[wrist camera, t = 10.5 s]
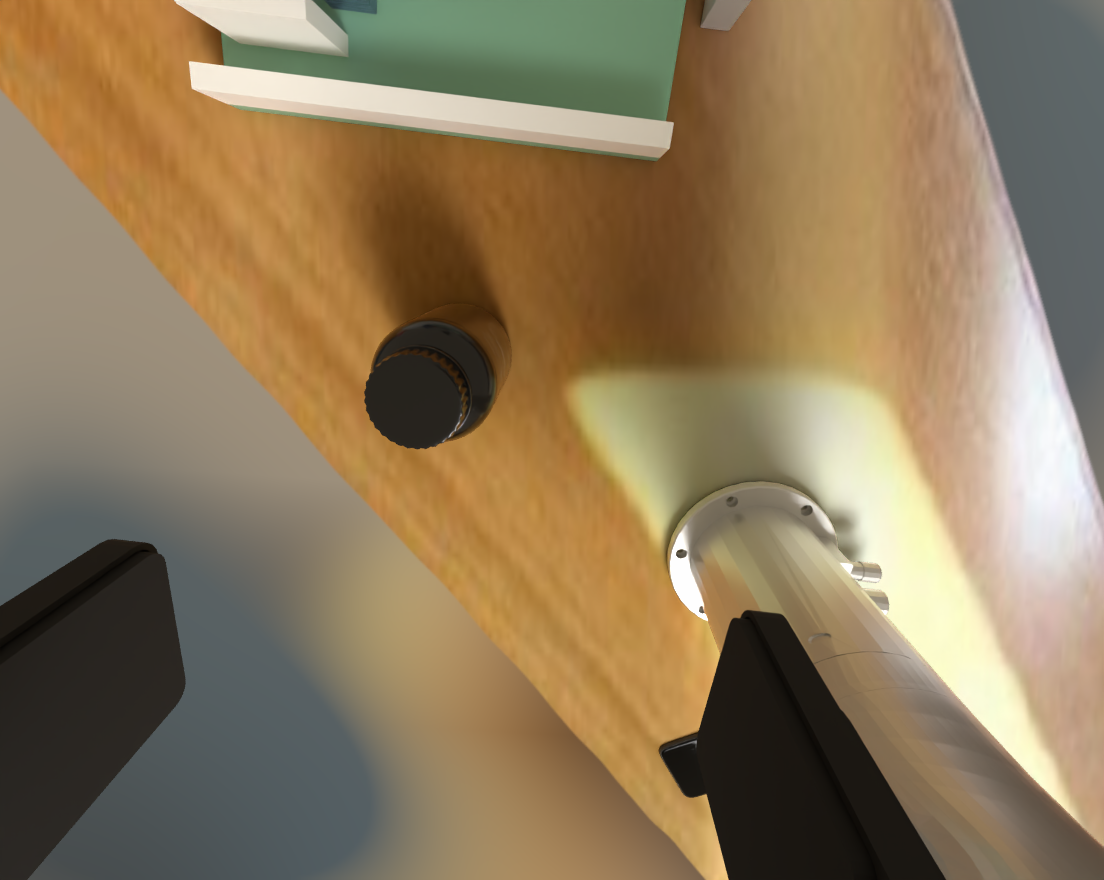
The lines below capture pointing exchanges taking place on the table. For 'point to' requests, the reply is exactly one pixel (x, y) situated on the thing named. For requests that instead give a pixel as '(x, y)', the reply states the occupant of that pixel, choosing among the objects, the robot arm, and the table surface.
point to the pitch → (462, 66)
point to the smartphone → (684, 765)
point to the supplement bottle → (437, 376)
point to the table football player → (354, 5)
